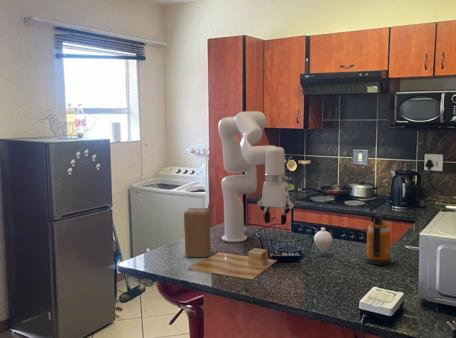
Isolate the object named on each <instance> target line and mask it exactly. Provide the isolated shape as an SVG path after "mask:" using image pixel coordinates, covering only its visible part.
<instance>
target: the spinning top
mask: <svg viewBox="0 0 456 338" xmlns="http://www.w3.org/2000/svg"><path fill="white" fill-rule="evenodd" d="M313 241H314V244H315V246H316V247H317V249H318V250H319V251H320V252H321V253H322V256H324V254H325V253H326V252H327V250H329V248H330V246H331V244H332V242H333V235H332V234H331V233H330V232H329V231H327V230H326V228H325V227H320V230H318V231H317V232H316V233H315V235H314V237H313Z"/></svg>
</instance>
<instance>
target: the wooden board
mask: <svg viewBox="0 0 456 338" xmlns="http://www.w3.org/2000/svg"><path fill="white" fill-rule="evenodd" d="M276 262H278V260H277V259H272V258H271V259H270V258H268V262H266V263H265V264H264V265H262V266H259V265H252V264H248V255H241V254H234V253H229V252H228V253H227V252H221V251H219V252H217V253H215V254H213V255H211V256H210V257H209V256H208V257H207V258H206V259H204V260H202V261H200V262H198V263H197V264H195V265H193V266H191V267H189V268H188V270H193V271H200V272H205V273H210V274H216V275H222V276H227V277H233V278H234V277H235V278H241V279H247V280H254V279H255V278H256V277H258V276H259V275H260V274H261V273H263V272H264V271H265V270H267V269H268V268H270V267H271V266H272V265H273V264H274V263H276Z"/></svg>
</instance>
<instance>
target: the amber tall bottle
mask: <svg viewBox="0 0 456 338" xmlns="http://www.w3.org/2000/svg"><path fill="white" fill-rule="evenodd" d="M383 218H384V214H383V213H376V214H375V215H374V218H373V219H374V220H373V222H370V223H369V224H368V230H366V262H368V263H370V264H372V265H377V266H385V265H387V264H389V263H390V262H391V231H390V226H389V223H388V222H387V221H385V220H383Z"/></svg>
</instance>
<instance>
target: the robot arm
mask: <svg viewBox="0 0 456 338" xmlns="http://www.w3.org/2000/svg"><path fill="white" fill-rule="evenodd" d="M266 126H267V117H266V115H265V114H264V113H263V112H262V111H258V110H257V111H256V110H254V111H251V110H250V111H240V112H238V113H237V114H236V115H235V116H225V117H222V118H221V119H220V120H219V121H218V126H217V127H218V128H217V129H218V135H219V138H220V140H221V145H222V160H223V161H222V162H223V169H224V171H225V172H226V173H233V174H234V173H244V174H235V175H227V176H224V177H223V178H222V179H221V191H222V195H223V219H224V220H223V221H224V234H223V235H222V236H221V240H222V241H223V242H226V243H241V242H245V241H247V240H248V236H247V235H246V234H245V232H247V227H245V217H244V216H245V215H244V214H245V213H244V212H245V211H244V202H243V200H242V199H241V197H240V196H241V195H250V194H253V193H255V192H256V191H257V188H258V175H257V173H258V171H257V166H258V165H259V166H261V165H264V168H265V169H264V173H265V175H264V176H265V180H264V181H263V186H262V192H261V194H262V195H261V196H262V197H261V198H260V199H259V200H258V201H257V203H256V205H257V206H258V208H260V210H261V211H262V213H263V214H264V221H265V224H269V223H270V222H271V212H270V209H271V208H275V209H280V211H281V215H280V225H281V226H285V224H286V223H287V222H288V221H287V219H288V218H287V217H288V216H287V215H288V213H290V211H291V210H293V208H294V207H295V204H294V203H293V202H292V201H291V200H290V194H289V193H290V192H289V187H288V179H289V176H287V175H286V173H285V149H284V148H283V147H281V146H276V145H255V144H257V143H258V142H259V141H260V140H261V139H262V137H263V130H264V129H265V128H266ZM239 135H240V136H241V137H242V138H241V141H239V139H238V138H237V136H239ZM254 145H255V146H254ZM286 180H287V181H286Z"/></svg>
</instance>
